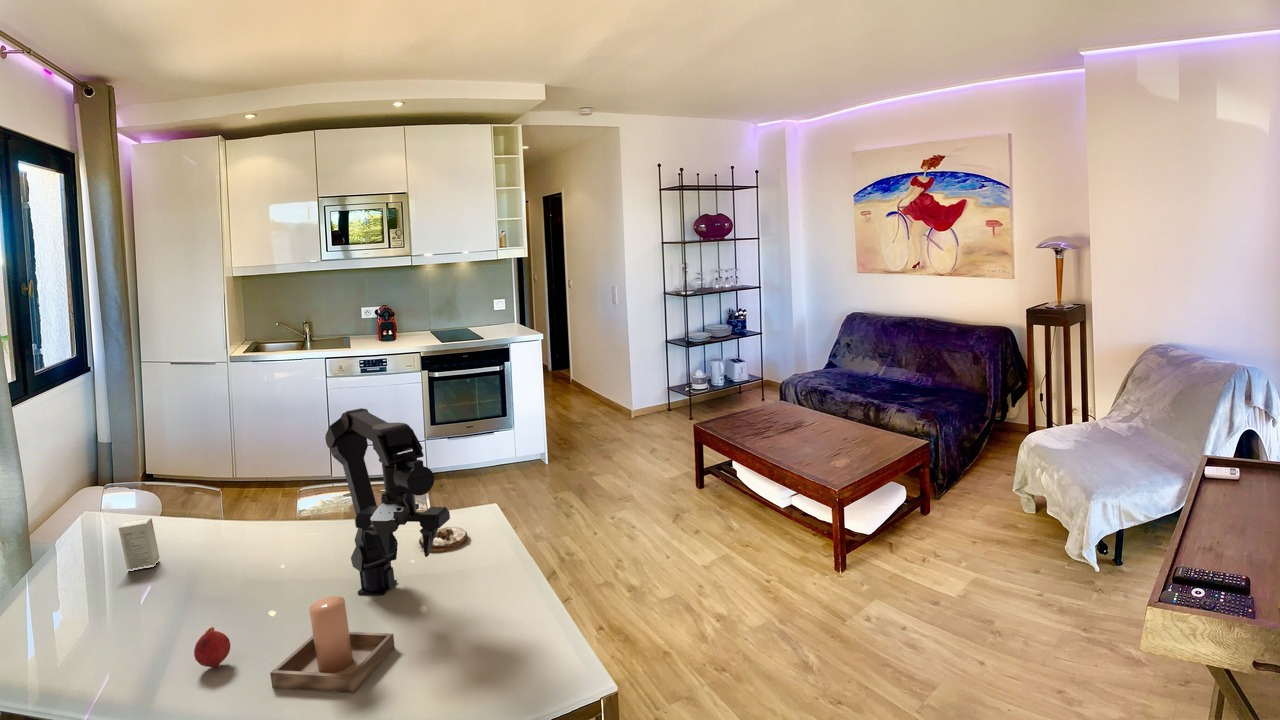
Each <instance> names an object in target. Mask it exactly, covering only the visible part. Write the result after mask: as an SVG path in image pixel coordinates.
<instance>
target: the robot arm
mask: <svg viewBox="0 0 1280 720" xmlns="http://www.w3.org/2000/svg"><path fill="white" fill-rule="evenodd" d="M324 440H325V443H326V446H327V447H328V448H329V450H330V453H331V456H332V457H333V458H334V459H335V460H337V461H338V462H339V463H340V464H341V465H342V467H343V472H344V474H345V480H346V483H347V486H348V490H349V494H350V497H351V500H352V505H353V508H354V512H355V518H354V523H355V524H354V525H355V528H356V529H357V531H356V533H355V537H354V544H355V548H354V550H353V553H352V554H351V556H350V560H351V564H352V567H353V568H354V569H356V570H357V571H358V572H359V579H360V587H361V588H360V589H358V591H357V595H367V596H368V595H372V596H383V595H385V594H386V593H387V592H388V591H389V590H390V589H392V587H393V586H395V585H396V584H397V582H398V581H397V580H398V579H395V573H394V572H395V571H394V567H392V561H396V560H397V559H398V558H397V556H398V544H399V543H398V540H397V538H396V536H395V535H394V533H395V532H396V531H397V530H399V527H400V526H402V525H403V526H404V525H406V524H407V523H408V522H411V523H413V522H415V523H417V522H419V526H420V527H421V529H419V533H420V534H421V536H422V535H423V547H424V549H423V554H424V557H425V558H427V557H428V556H429V555H430V554H431V552H430V550H431V547H432V544H433V541H434V538H435V535H436V532H437V530H438V529H441V527H442V526H444V525H445V524H446V523H447V522H448V521H449V520H450V519H451V516H450V515H451V514H450V510H449V509H448V508H447V507H446V506H430V507H428V509H426V510H425V511H417V510H419V509H420V505H419V504H420V503H416V497H415V496H423V495H425V494H427V493H429V491H431V490H432V488H433V486H434V482H435V475H434V474H433V471H432V470H431V468H429V467H427V466H424V460H422V459H420V458H423V457H424V456H425V455H424V453H423V451H422V450H423V449H424V448H423V446H422V444H421V442H420V441H419V439H418V436H417V435H416V433H415V432H414V430H413V428H412V427H411V426H410V425H409V424H408V423H405V422H404V423H403V422H388V421H386V420H384V419H381V418H380V417H378V416H376V415H374V414H373V413H371V412H369V411H368V409H367V408H362V407H361V408H356V409H351V410H347V411H345V412H343V413H342V414H341V416H340V418H339V419H337V420H336V421H335V422H333V423H331V424H330V425H329V427H328V428H327V431H326V433H325V439H324ZM368 440H369V441H371V443H372V448H373V450H374V451H375V453H376V454H377V455H378V462H379V463H381V468H382V477H383V486H384V487H383V488H384V492H382V493H381V499H380V500H381V502H380V505H377V502H376V498H375V494H374V491H373V487H372V483H371V479H370V475H369V471H368V468H367V464H366V461H365V456H366V452H367V450H368V447H369V444H368Z"/></svg>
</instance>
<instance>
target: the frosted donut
mask: <svg viewBox="0 0 1280 720" xmlns="http://www.w3.org/2000/svg"><path fill="white" fill-rule="evenodd" d="M467 536H468V533H467V531H466V530H465V529H463V528H462V527H458V526H446V527H443V528H438V530H437V532H436V535H435V538H434V541H433V544H432V547H431V550H430V553H439V552H440V553H441V552H447V551H451V550H453V549H456V548H458V547H460V546H463V545H464V544H465V543H467V541H468V537H467ZM418 541H419V542H418V543H419V547H418V549H420V548H421V549H422V550H419V552H420V553H421V552H422V553H423V552H424V547H423V535H422V534H421V536H420V537H419V540H418ZM462 544H463V545H462Z"/></svg>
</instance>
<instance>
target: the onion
mask: <svg viewBox="0 0 1280 720" xmlns="http://www.w3.org/2000/svg"><path fill="white" fill-rule="evenodd" d="M230 650H231V641H230V638H229V637H228V636H227V635H226V634H225V633H223V632H221V631H218V630H215V627H213V626H210V627H208V628H207V629H206V631H205V633H203V635H201V637H199V639H198V640H197V641H196V644H195V646H194V649H193V656H194V659H195V661H196V662H198V664H199V665H200V666H204V667H206V668H217V667H219V666H220V664H221V663H222V662H224V660H226V659H227V657H228V655H229V654H230ZM218 665H219V666H218ZM216 666H217V667H216Z"/></svg>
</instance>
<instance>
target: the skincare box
mask: <svg viewBox="0 0 1280 720" xmlns="http://www.w3.org/2000/svg"><path fill="white" fill-rule="evenodd" d="M152 519H153V518H152V517H149V518H144V519H137V520H136V519H135V520H130V521H125V522H123V523H122V524H121V525H120V526H119V527H118V532H119V536H120V541H121V546H122V550H123V556H124V560H125V564H126V570H127V569H133V568H138V567H144V566H149V565H155V563H156V562H157V561H158V560H159V558H160V553H159V548H158V543H157V539H156V533H155V528H154V523H153V520H152Z"/></svg>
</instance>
